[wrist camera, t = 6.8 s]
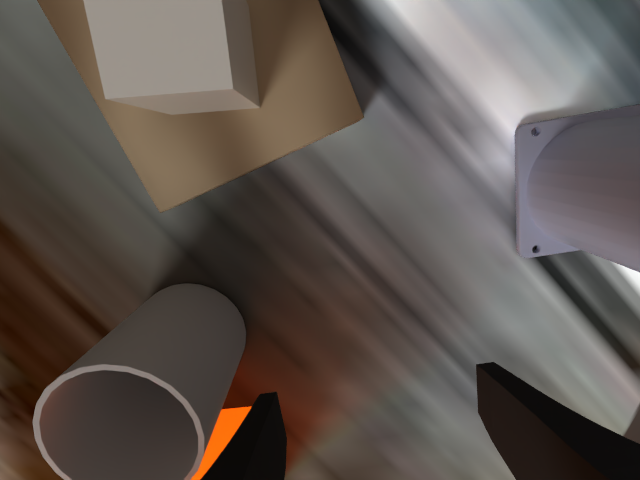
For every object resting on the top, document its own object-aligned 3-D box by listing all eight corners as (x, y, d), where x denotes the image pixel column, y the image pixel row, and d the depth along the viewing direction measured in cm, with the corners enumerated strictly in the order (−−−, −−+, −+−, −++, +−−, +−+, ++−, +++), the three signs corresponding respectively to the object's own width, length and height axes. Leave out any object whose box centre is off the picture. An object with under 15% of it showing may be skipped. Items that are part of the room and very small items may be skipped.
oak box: (267, -105, 17) (256, -157, 14) (357, 122, 20) (363, 117, 17) (70, 5, 18) (24, -22, 16) (181, 204, 21) (160, 213, 18)
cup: (257, 293, 22) (217, 384, 14) (231, 416, 25) (184, 558, 16) (147, 269, 22) (34, 347, 13) (133, 396, 24) (30, 532, 16)
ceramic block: (248, 5, 16) (213, -67, 11) (260, 107, 17) (233, 88, 12) (153, 13, 16) (71, -54, 11) (171, 114, 17) (105, 99, 12)
